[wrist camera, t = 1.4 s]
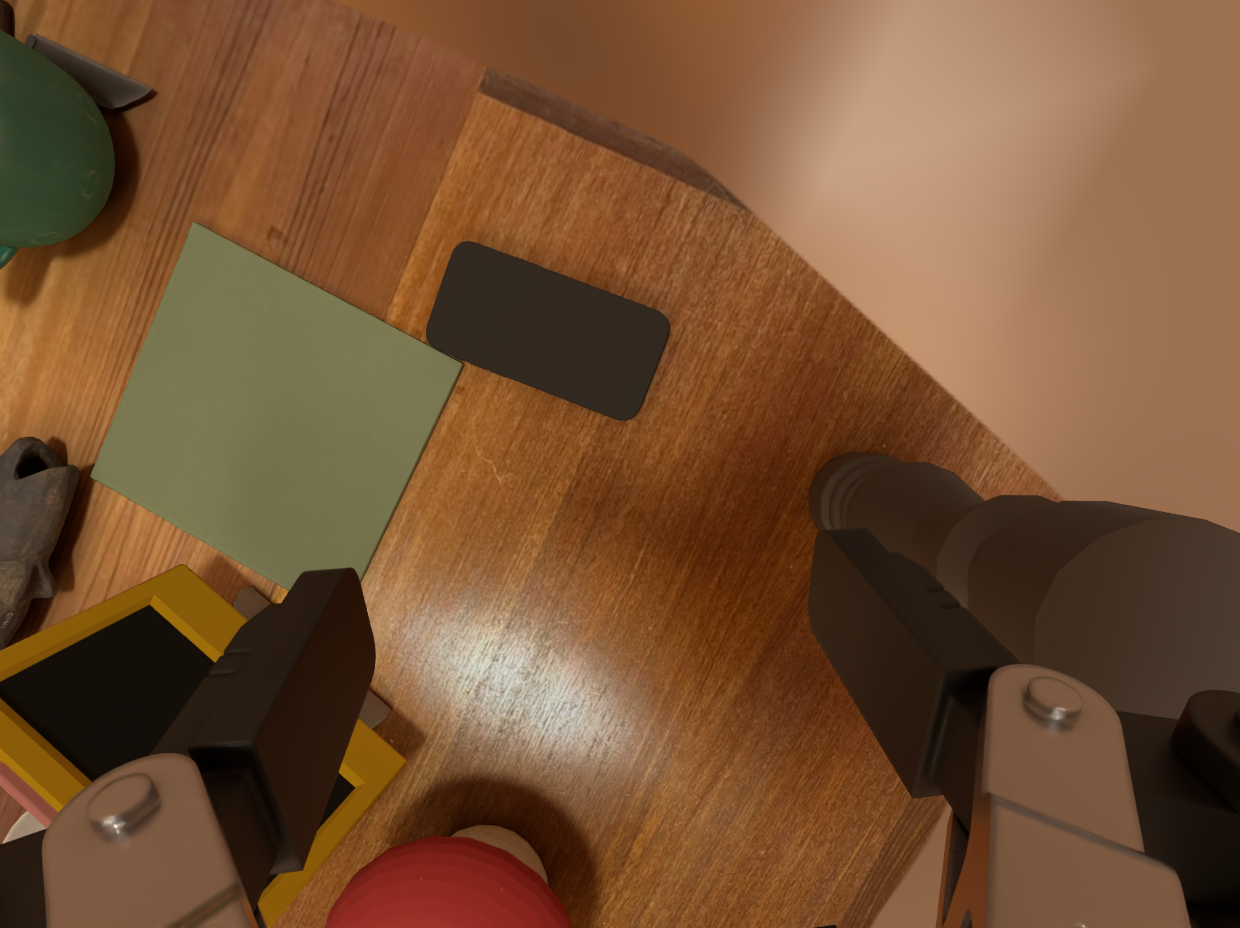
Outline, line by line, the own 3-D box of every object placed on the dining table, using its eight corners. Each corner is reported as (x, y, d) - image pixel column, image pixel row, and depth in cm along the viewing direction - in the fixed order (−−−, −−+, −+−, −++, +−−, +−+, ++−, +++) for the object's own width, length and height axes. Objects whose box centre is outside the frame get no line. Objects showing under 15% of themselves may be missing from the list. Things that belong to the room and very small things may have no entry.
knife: (-22, 51, 43) (-33, 45, 42) (-4, -5, 42) (-16, -12, 42) (143, 130, 42) (134, 125, 41) (163, 74, 41) (154, 68, 41)
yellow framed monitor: (431, 734, 43) (281, 915, 27) (367, 811, 44) (186, 1029, 28) (222, 551, 44) (-40, 623, 28) (164, 630, 45) (-121, 743, 29)
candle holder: (930, 515, 38) (1389, 691, 13) (843, 567, 38) (1118, 829, 14) (874, 432, 38) (1225, 449, 13) (788, 486, 39) (965, 600, 14)
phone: (632, 427, 39) (420, 344, 40) (633, 427, 39) (425, 345, 40) (675, 316, 38) (457, 234, 39) (675, 318, 39) (462, 238, 40)
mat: (197, 223, 42) (193, 221, 42) (464, 364, 40) (462, 363, 40) (94, 476, 44) (89, 476, 44) (343, 618, 43) (340, 620, 42)
